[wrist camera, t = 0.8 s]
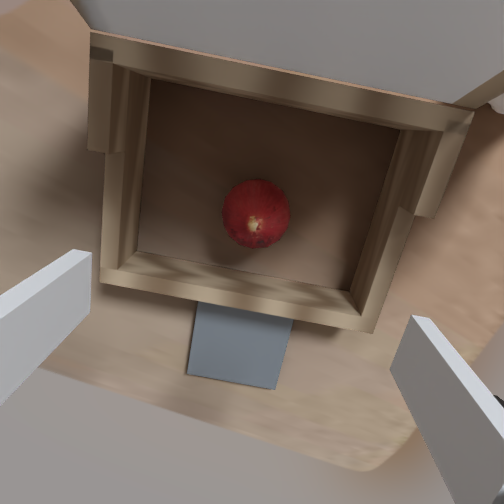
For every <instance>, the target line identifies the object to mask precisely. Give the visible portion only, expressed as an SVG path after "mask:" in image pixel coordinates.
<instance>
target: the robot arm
mask: <svg viewBox="0 0 504 504" xmlns="http://www.w3.org/2000/svg"><path fill="white" fill-rule="evenodd" d="M91 271H92V253H91V252H86V251H81V250H76V249H72V250H71V251H69V252H68V253H66V254H65V255H63V256H61V257H60V258H58V259H57V260H55V261H54V262H52V263H50V264H49V265H47V266H46V267H44V268H43V269H41V270H39V271H38V272H36V273H35V274H33V275H32V276H30V277H28V278H27V279H25V280H24V281H22V282H21V283H19V284H17V285H16V286H14V287H13V288H11V289H10V290H8V291H6V292H5V293H3V294H2V295H0V406H1V405H2V404H3V403H4V401H6V400H7V398H9V396H10V395H11V394H12V393H13V392H14V391H15V390H16V389H17V388H18V387H19V386H20V385H21V384H22V383H23V382H24V381H25V380H26V379H27V378H28V377H29V376H30V374H31V373H32V372H33V371H34V370H35V369H36V368H37V367H38V366H39V365H40V364H41V363H42V362H43V361H44V360H45V359H46V358H47V357H48V356H49V355H50V354H51V353H52V352H53V350H54V349H55V348H56V347H57V346H58V345H59V344H60V343H61V342H62V341H63V340H64V339H65V338H66V337H67V336H68V335H69V334H70V333H71V332H72V331H73V330H74V328H75V327H76V326H77V325H78V324H79V323H80V322H81V321H82V320H83V319H84V318H85V317H86V316H87V315H88V314H89V313H90V299H91ZM390 371H391V373H392V375H393V377H394V379H395V381H396V383H397V385H398V388H399V390H400V392H401V394H402V396H403V398H404V400H405V402H406V404H407V406H408V408H409V410H410V412H411V414H412V416H413V418H414V420H415V422H416V424H417V426H418V428H419V430H420V432H421V435H422V436H423V439H424V441H425V443H426V445H427V447H428V449H429V451H430V453H431V455H432V457H433V459H434V461H435V463H436V465H437V467H438V469H439V471H440V473H441V475H442V477H443V480H444V482H445V484H446V486H447V488H448V490H449V492H450V494H451V496H452V498H453V500H454V502H455V504H504V401H503V400H502V399H500V398H499V397H498V396H495V395H492V393H491V392H490V391H489V390H488V389H487V387H486V386H485V385H484V384H483V383H482V381H481V380H480V379H479V378H478V376H477V375H476V374H475V373H474V372H473V371H472V369H471V368H470V367H469V366H468V364H467V363H466V362H465V361H464V359H463V358H462V357H461V356H460V355H459V353H458V352H457V351H456V350H455V349H454V347H453V346H452V345H451V344H450V342H449V341H448V340H447V339H446V338H445V336H444V335H443V334H442V333H441V332H440V330H439V329H438V328H437V327H436V325H435V324H434V323H433V322H432V321H431V319H430V318H426V317H421V316H416V315H411V317H410V319H409V322H408V324H407V327H406V329H405V332H404V334H403V337H402V339H401V342H400V344H399V347H398V349H397V352H396V354H395V357H394V360H393V362H392V365H391V367H390Z"/></svg>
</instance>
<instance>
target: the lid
mask: <svg viewBox="0 0 504 504" xmlns="http://www.w3.org/2000/svg"><path fill="white" fill-rule="evenodd" d="M70 1H71V2H72V4H73V5H74V7H75V8H76V9H77V11H78V12H79V13H80V15H81V16H82V17H83V19H84V20H85V21H86V23H87V24H88V26H89V27H90V28H91V29H94V30H99V31H104V32H108V33H113V34H118V35H123V36H128V37H132V38H137V39H142V40H147V41H152V42H156V43H161V44H166V45H171V46H176V47H180V48H185V49H190V50H195V51H200V52H205V53H209V54H214V55H219V56H224V57H229V58H233V59H238V60H243V61H248V62H253V63H257V64H262V65H267V66H272V67H277V68H281V69H286V70H291V71H296V72H301V73H305V74H310V75H315V76H320V77H325V78H329V79H334V80H339V81H344V82H349V83H353V84H358V85H363V86H368V87H373V88H377V89H382V90H387V91H392V92H397V93H402V94H406V95H411V96H416V97H421V98H426V99H430V100H435V101H440V102H445V103H450V104H454V105H459V106H464V107H469V108H474V109H476V108H478V107H480V106H482V105H484V104H485V103H487V102H489V101H491V100H492V99H494V98H496V97H498V96H500V95H501V94H503V93H504V0H70Z"/></svg>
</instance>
